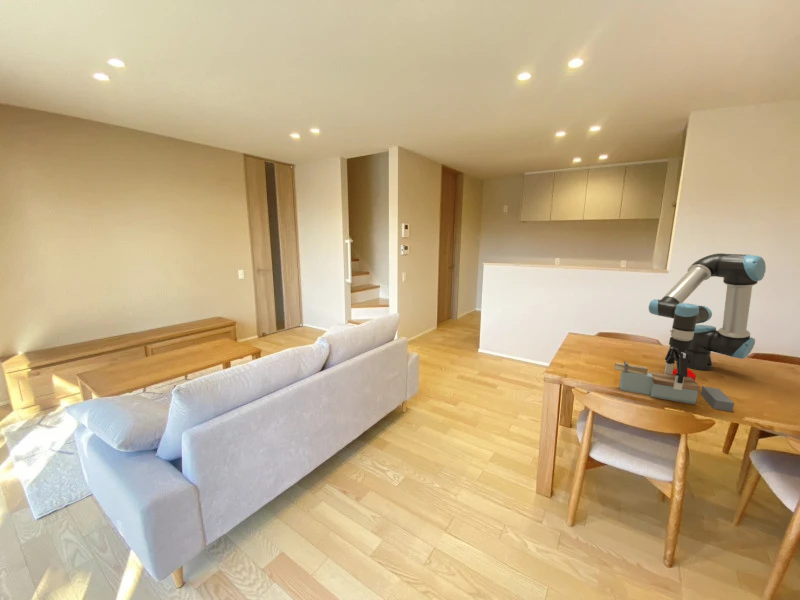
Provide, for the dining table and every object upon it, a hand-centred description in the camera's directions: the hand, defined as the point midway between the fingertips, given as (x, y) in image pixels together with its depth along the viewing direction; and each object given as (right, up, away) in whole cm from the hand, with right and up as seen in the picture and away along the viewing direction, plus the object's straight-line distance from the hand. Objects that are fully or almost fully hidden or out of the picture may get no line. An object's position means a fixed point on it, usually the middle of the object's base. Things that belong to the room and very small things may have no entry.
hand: (672, 382), depth 149 cm
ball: (+17, -4, +15) cm, 23 cm away
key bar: (-15, +4, +6) cm, 17 cm away
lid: (0, 0, 0) cm, 0 cm away
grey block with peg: (-12, -6, +7) cm, 15 cm away
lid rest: (+17, -8, -3) cm, 19 cm away
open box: (0, -7, +2) cm, 7 cm away
